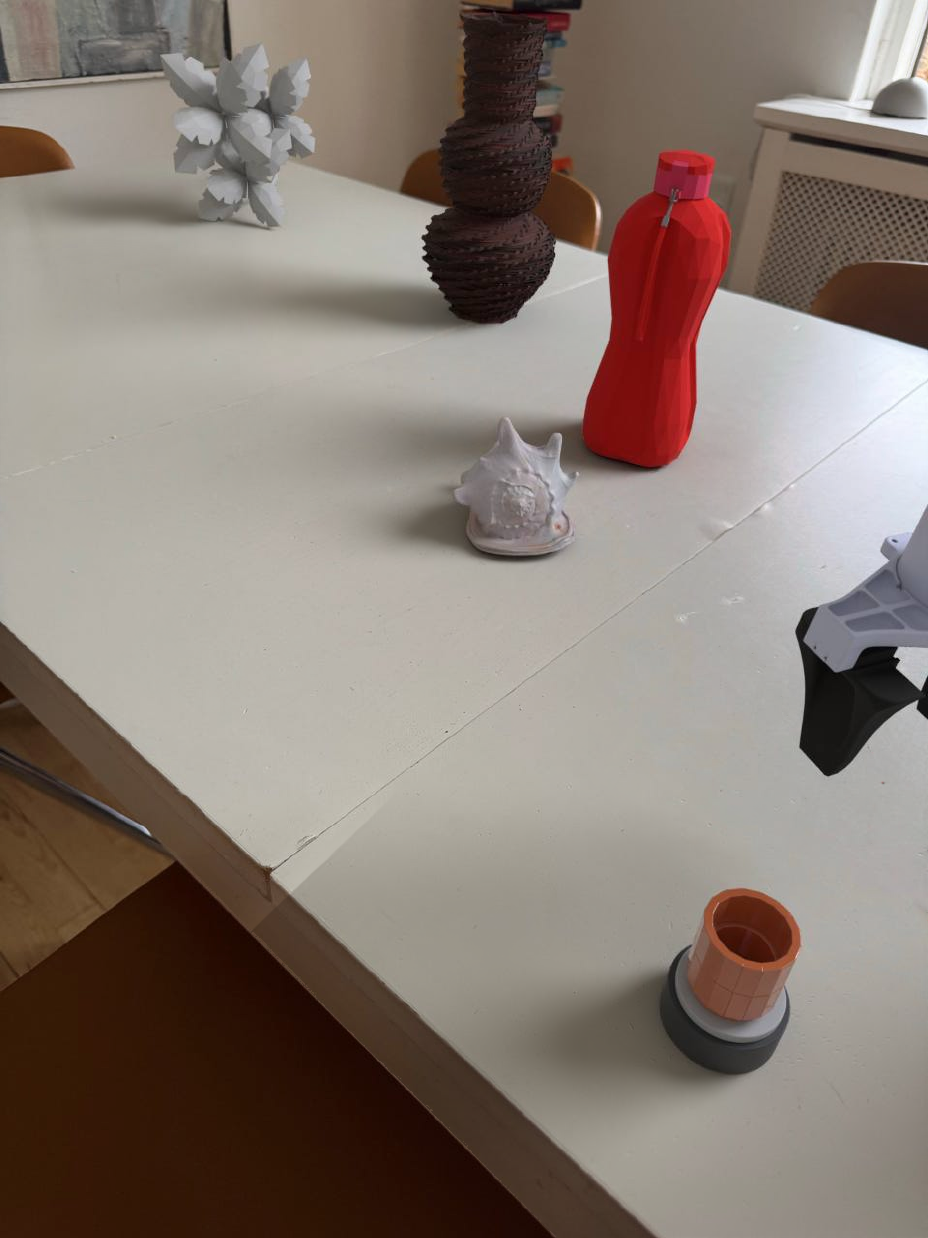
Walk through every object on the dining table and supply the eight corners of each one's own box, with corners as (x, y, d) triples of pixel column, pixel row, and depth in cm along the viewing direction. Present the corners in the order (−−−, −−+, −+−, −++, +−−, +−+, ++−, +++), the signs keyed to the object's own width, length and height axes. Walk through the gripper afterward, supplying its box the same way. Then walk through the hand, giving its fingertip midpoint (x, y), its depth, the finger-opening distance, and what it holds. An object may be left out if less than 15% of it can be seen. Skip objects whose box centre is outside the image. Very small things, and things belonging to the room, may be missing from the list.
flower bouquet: (368, 192, 154) (366, 40, 141) (261, 249, 128) (247, 69, 116) (271, 178, 158) (262, 29, 145) (149, 229, 133) (125, 54, 120)
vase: (561, 335, 110) (599, 30, 92) (428, 335, 108) (440, 21, 90) (533, 289, 122) (562, 11, 104) (412, 289, 120) (420, 3, 102)
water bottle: (563, 462, 86) (605, 158, 71) (601, 415, 94) (646, 133, 79) (664, 488, 83) (730, 178, 68) (694, 438, 91) (759, 151, 76)
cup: (788, 977, 43) (815, 920, 41) (755, 1045, 41) (781, 989, 38) (706, 930, 45) (726, 872, 42) (668, 992, 42) (688, 935, 40)
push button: (795, 1006, 45) (810, 975, 43) (752, 1099, 41) (766, 1069, 40) (689, 944, 47) (700, 913, 46) (639, 1027, 44) (649, 996, 42)
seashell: (461, 567, 72) (469, 454, 66) (428, 487, 81) (433, 382, 75) (590, 556, 74) (608, 446, 68) (543, 479, 83) (556, 377, 78)
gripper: (1057, 427, 43) (925, 654, 51) (807, 467, 37) (706, 715, 45) (1205, 515, 38) (1033, 749, 47) (946, 576, 32) (804, 830, 41)
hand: (878, 740), depth 46 cm, fingers open, 7 cm apart
